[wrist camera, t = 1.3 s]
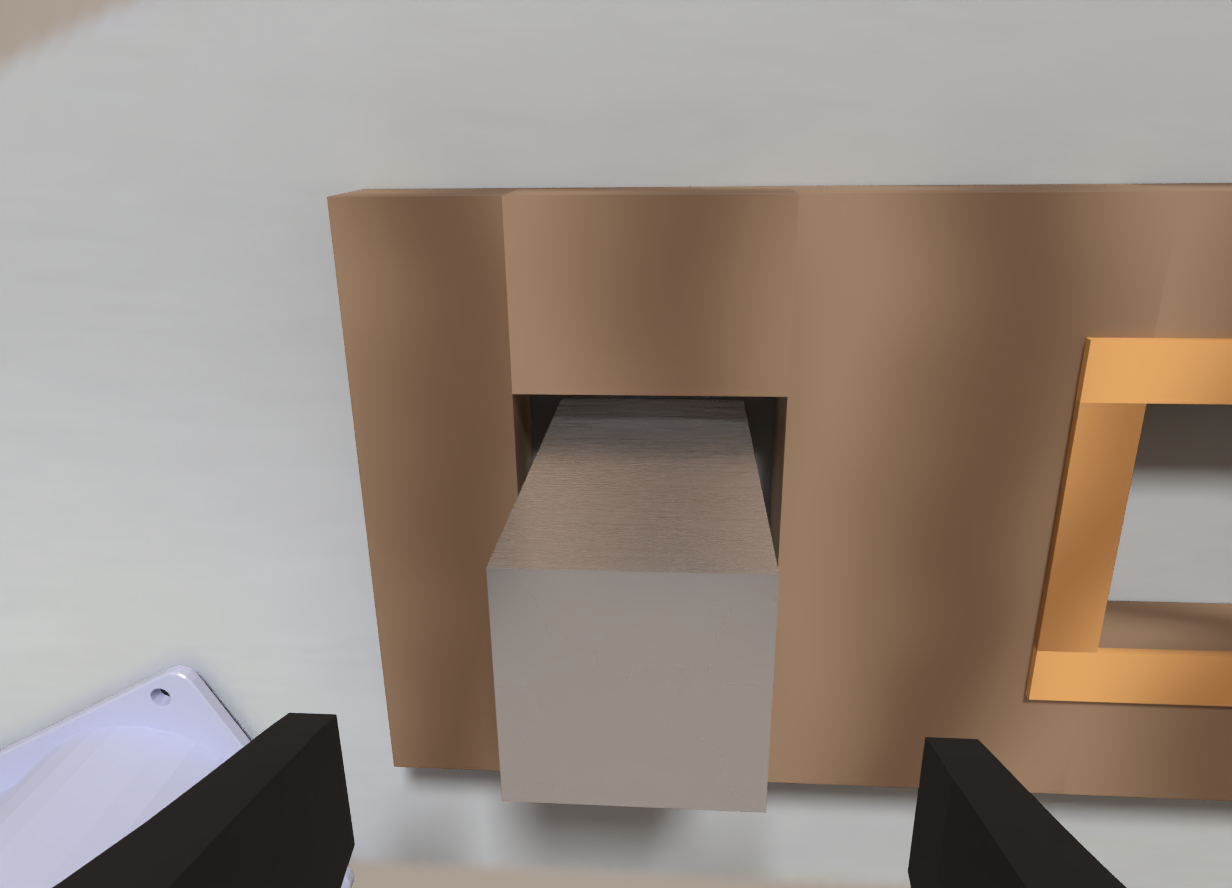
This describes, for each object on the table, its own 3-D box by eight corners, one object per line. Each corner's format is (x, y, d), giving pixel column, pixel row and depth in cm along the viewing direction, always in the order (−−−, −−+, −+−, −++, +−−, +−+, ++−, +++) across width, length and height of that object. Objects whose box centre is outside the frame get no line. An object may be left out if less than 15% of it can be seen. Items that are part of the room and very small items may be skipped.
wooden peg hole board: (418, 713, 23) (391, 772, 21) (363, 189, 19) (322, 198, 16) (1409, 750, 21) (1487, 818, 19) (1610, 180, 17) (1739, 188, 15)
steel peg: (567, 559, 21) (502, 800, 14) (561, 398, 20) (486, 567, 12) (737, 563, 21) (766, 812, 13) (743, 400, 20) (779, 575, 12)
